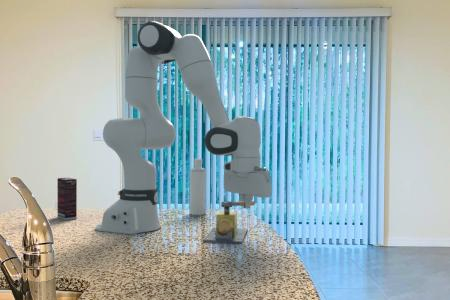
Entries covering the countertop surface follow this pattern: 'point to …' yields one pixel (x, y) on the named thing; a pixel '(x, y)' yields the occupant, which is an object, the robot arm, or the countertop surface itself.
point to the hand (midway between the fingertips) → (246, 208)
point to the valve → (226, 229)
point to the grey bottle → (198, 189)
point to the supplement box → (67, 198)
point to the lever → (234, 203)
